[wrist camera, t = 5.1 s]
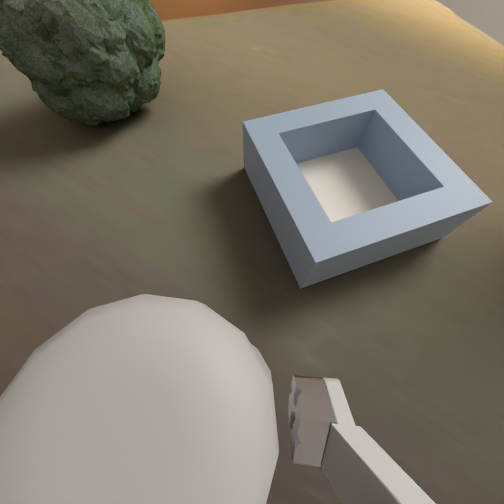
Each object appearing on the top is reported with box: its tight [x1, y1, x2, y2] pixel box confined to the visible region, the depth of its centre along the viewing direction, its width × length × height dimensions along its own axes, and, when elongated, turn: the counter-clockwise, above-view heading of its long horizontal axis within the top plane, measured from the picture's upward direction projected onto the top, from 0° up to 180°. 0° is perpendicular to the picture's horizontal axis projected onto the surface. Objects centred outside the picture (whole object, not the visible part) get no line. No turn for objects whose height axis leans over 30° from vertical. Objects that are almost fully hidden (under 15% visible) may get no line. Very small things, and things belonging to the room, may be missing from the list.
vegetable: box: [0, 0, 165, 126], centre depth 22 cm, size 12×13×15 cm
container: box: [243, 89, 492, 289], centre depth 19 cm, size 12×12×4 cm
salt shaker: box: [0, 294, 279, 504], centre depth 9 cm, size 6×6×13 cm
